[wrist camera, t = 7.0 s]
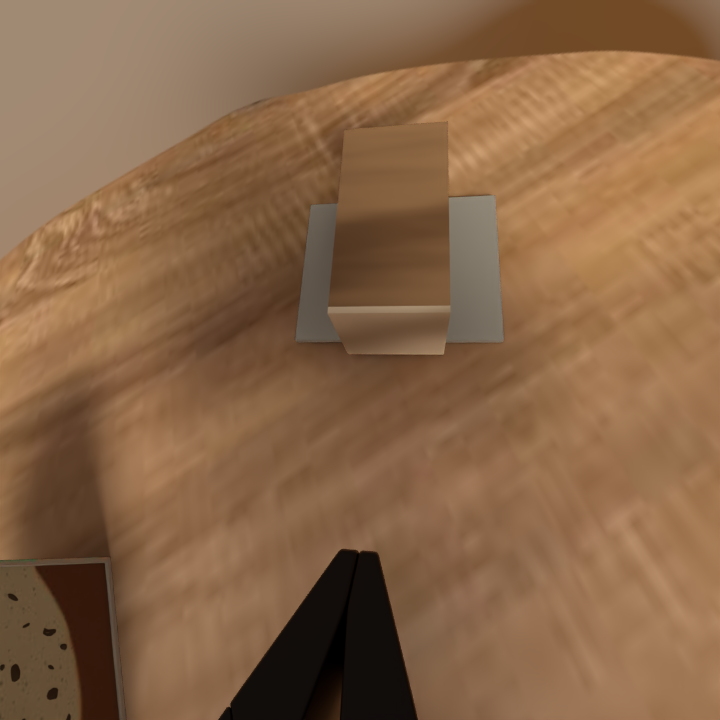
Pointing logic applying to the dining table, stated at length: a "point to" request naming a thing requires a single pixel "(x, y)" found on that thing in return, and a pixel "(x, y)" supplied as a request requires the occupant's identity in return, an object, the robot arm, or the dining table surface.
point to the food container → (59, 641)
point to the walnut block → (392, 241)
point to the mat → (467, 274)
